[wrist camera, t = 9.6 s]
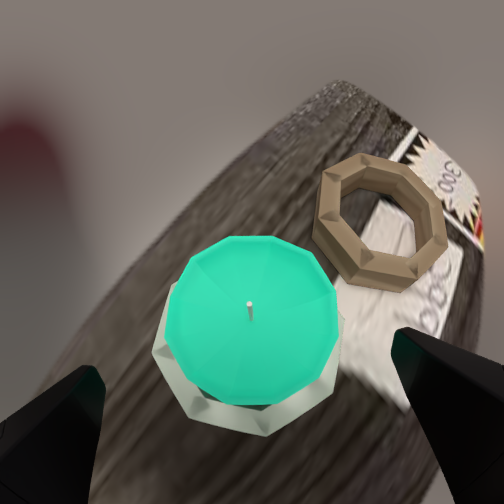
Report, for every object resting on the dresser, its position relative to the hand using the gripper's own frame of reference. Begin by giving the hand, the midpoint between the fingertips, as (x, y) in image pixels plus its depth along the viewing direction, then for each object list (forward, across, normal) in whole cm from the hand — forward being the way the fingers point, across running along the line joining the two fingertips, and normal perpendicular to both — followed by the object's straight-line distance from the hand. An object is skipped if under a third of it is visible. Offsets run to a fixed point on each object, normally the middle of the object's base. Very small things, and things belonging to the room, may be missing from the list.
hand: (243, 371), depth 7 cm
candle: (+10, 0, +7) cm, 12 cm away
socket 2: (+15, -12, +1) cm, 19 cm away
